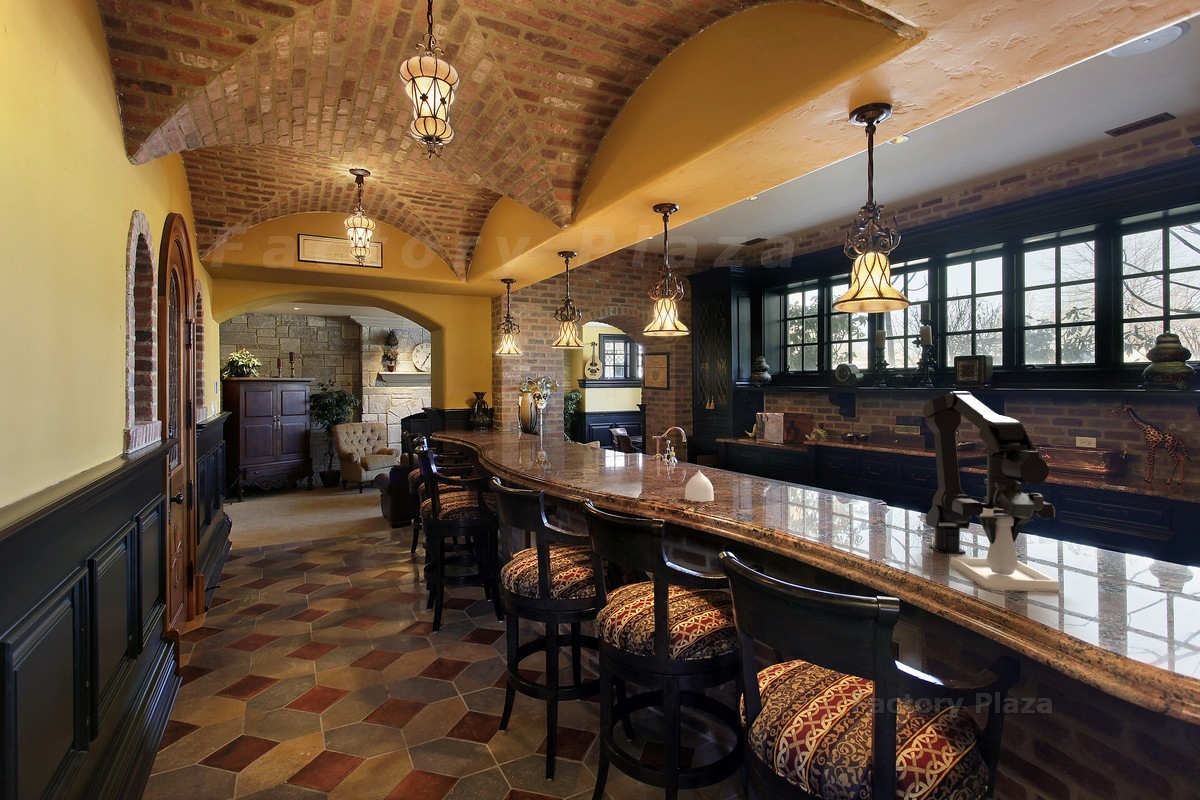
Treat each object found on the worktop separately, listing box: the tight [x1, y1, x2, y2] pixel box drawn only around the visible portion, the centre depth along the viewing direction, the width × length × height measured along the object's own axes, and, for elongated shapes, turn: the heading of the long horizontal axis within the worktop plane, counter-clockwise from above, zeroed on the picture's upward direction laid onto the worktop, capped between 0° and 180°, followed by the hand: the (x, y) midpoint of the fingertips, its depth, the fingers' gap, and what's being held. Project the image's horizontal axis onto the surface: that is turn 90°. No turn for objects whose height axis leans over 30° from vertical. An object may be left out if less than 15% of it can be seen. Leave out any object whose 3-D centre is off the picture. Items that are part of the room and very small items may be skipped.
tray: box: [950, 556, 1060, 593], centre depth 130 cm, size 16×14×2 cm
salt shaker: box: [986, 512, 1019, 575], centre depth 130 cm, size 6×6×13 cm
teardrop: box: [684, 469, 715, 502], centre depth 221 cm, size 11×11×12 cm
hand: (1001, 546), depth 130 cm, fingers closed on salt shaker, 3 cm apart
